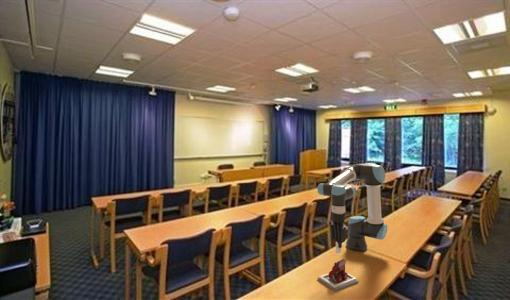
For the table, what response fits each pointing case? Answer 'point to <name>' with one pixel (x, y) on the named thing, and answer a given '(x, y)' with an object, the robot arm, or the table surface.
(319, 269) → the table surface
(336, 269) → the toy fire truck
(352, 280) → the base board
